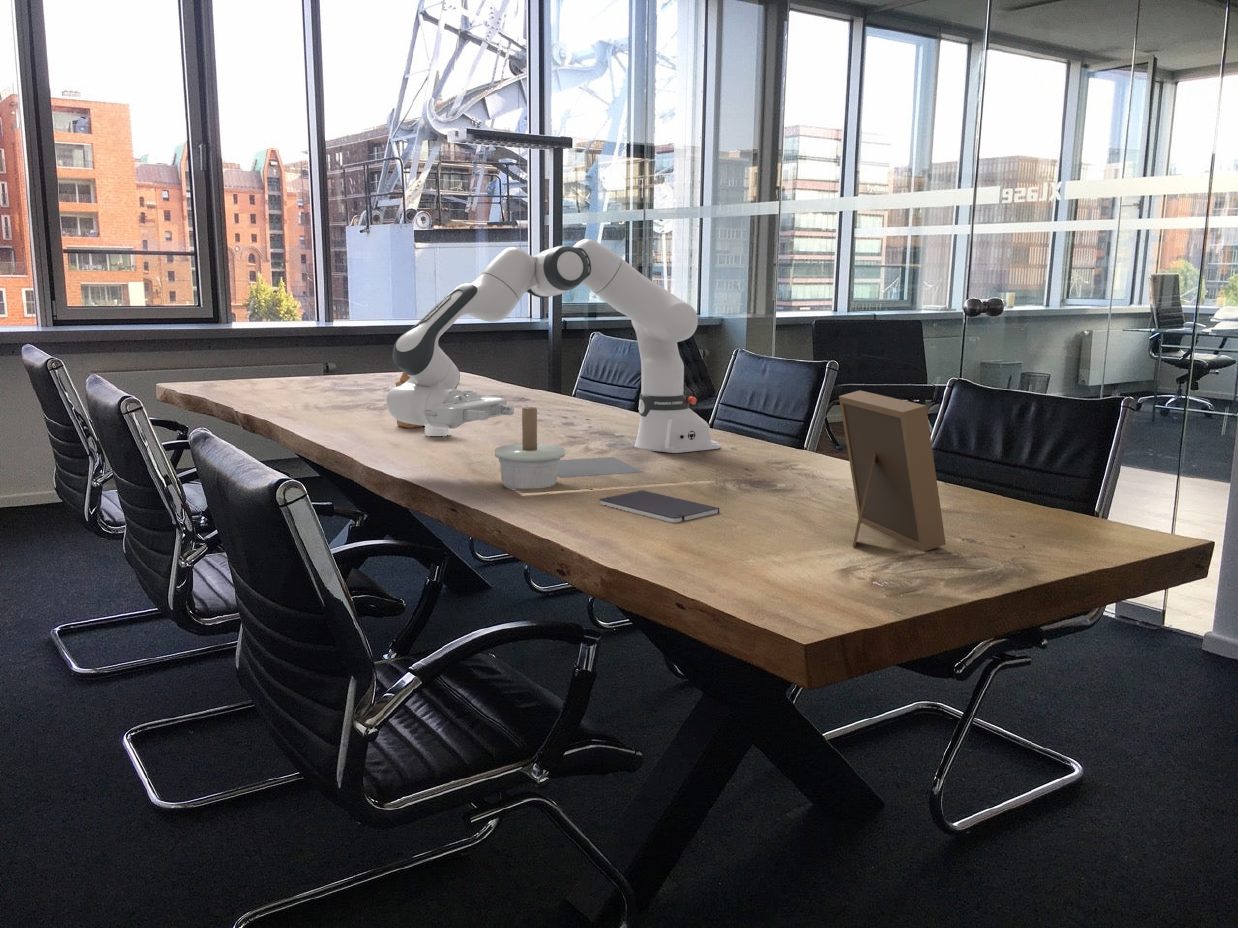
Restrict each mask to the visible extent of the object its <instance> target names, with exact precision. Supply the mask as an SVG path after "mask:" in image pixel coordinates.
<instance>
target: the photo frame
mask: <svg viewBox="0 0 1238 928" xmlns="http://www.w3.org/2000/svg"><path fill="white" fill-rule="evenodd" d="M838 400H839V405H840V411H841V418H842V419H841V420H842V425H843V430H844V437H845V442H846V443H845V444H846V450H847V455H848V460H849V468H850V474H851V479H852V485H853V492H854V496H855V504H856V509H857V516H858V520H857V524H856V529H855V534H854V538H853V542H852V543H853V544H852V547H854V548H856V545H857V541H858V536H859V533H860V529H861V528H860V527H861V524H863V525H865V526H868V527H869V528H872V529H874V530H876V531H878V532H881V533H883V534H885V535H887V536H890V537H892V538H894V539H895V540H898V541H900V542H902V543H905V544H907V545H909V547H910V546H911V547H913V548H916V549H918V550H919V551H922V552H927V551H929V550H933V549H936V548H939V547H942V546H945V545H947V544H946V536H945V530H944V521H943V515H942V508H941V501H940V495H939V487H938V479H937V473H936V467H935V465H936V464H935V459H934V453H933V445H932V437H931V432H930V424H929V418H928V411H927V410H928V409H927V405H925V404H921V403H916V402H912V401H908V400H904V399H898V398H895V397H890V396H886V395H883V394H878V393H872V392H868V391H864V390H860V389H859V390H855V391H852V392H850V393H845V394H842V395H839V396H838Z"/></svg>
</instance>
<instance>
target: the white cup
mask: <svg viewBox="0 0 1238 928" xmlns="http://www.w3.org/2000/svg"><path fill="white" fill-rule="evenodd" d="M424 426H425V427H424V435H425V437H430V436H443V437H447V435H448V436H449V435H450V430H451V428H442V427H434V426H431V425H429V424H426V425H424Z"/></svg>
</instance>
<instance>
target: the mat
mask: <svg viewBox="0 0 1238 928" xmlns="http://www.w3.org/2000/svg"><path fill="white" fill-rule="evenodd" d="M637 473H644V471H643V470H641V469H639V468H637V467H635V466H632V465H630V464H628V463H626V462H624V461H622V460H620V459H619V458H616V457H614V456H609V457H608V456H607V457H606V456H605V457H604V456H603V457H592V458H591V457H590V458H589V457H588V458H574V459H573V458H571V459H560V462H559V467H558V475H557V477H559V478H573V477H574V478H577V477H592V476H605V475H622V474H637Z"/></svg>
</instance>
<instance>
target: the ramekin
mask: <svg viewBox="0 0 1238 928" xmlns="http://www.w3.org/2000/svg"><path fill="white" fill-rule="evenodd" d="M560 460H561V458H559V459H554V460H547V461H510V460H504V459H499V458H498V462H499V466H500V467H499V468H500V473H501V474H500V476H501V480H502V481H501V482H502V485H504V487H505V488H506V487H507V489H508V488H510V489H509V490H512V489H515V490H514V491H518V489H520V490H521V489H523V490H524V489H525V490H527V489H528V490H533V489H544V488H545V489H546V488H550V487H553V486H554V485H555V486H556V484H557V480H558V476H557V475H558V467H559V462H560Z"/></svg>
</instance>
